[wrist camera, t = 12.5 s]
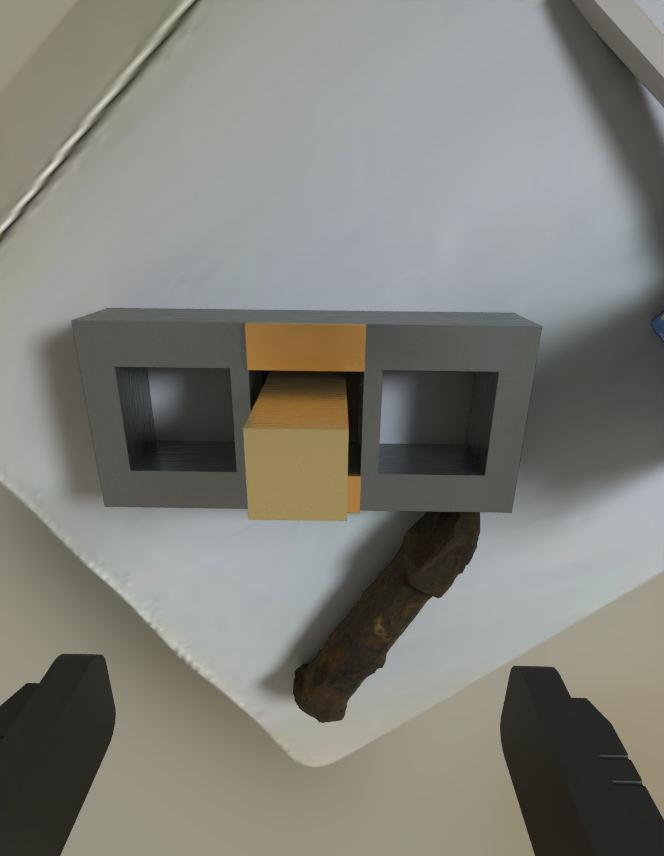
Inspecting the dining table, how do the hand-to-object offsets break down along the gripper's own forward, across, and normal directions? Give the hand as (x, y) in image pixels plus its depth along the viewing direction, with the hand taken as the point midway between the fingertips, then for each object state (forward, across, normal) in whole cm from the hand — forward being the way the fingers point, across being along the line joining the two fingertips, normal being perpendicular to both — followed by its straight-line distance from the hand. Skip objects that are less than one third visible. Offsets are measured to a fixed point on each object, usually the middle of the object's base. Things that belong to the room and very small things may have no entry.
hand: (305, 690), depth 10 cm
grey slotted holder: (+20, +1, +1) cm, 20 cm away
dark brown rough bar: (+21, -4, +14) cm, 25 cm away
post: (+20, +1, +1) cm, 20 cm away
